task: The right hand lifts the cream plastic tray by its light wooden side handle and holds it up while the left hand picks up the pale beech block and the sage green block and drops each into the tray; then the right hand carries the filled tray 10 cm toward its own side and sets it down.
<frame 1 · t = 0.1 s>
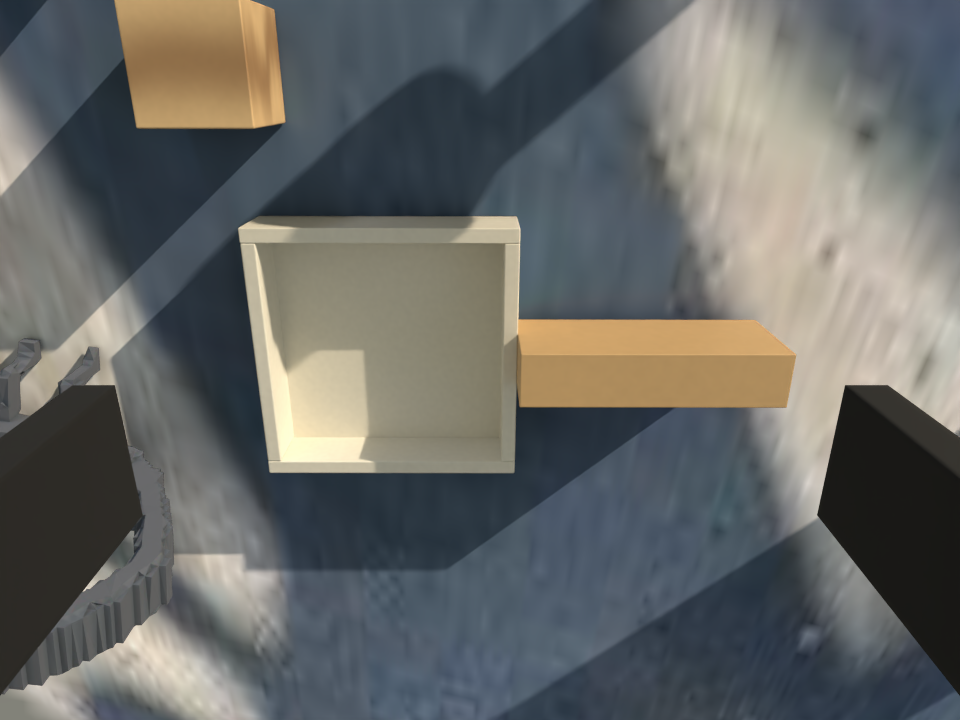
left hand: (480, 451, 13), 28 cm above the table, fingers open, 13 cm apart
beech block: (227, 67, 36), on the table
tray: (393, 337, 41), on the table
toy: (25, 425, 44), on the table
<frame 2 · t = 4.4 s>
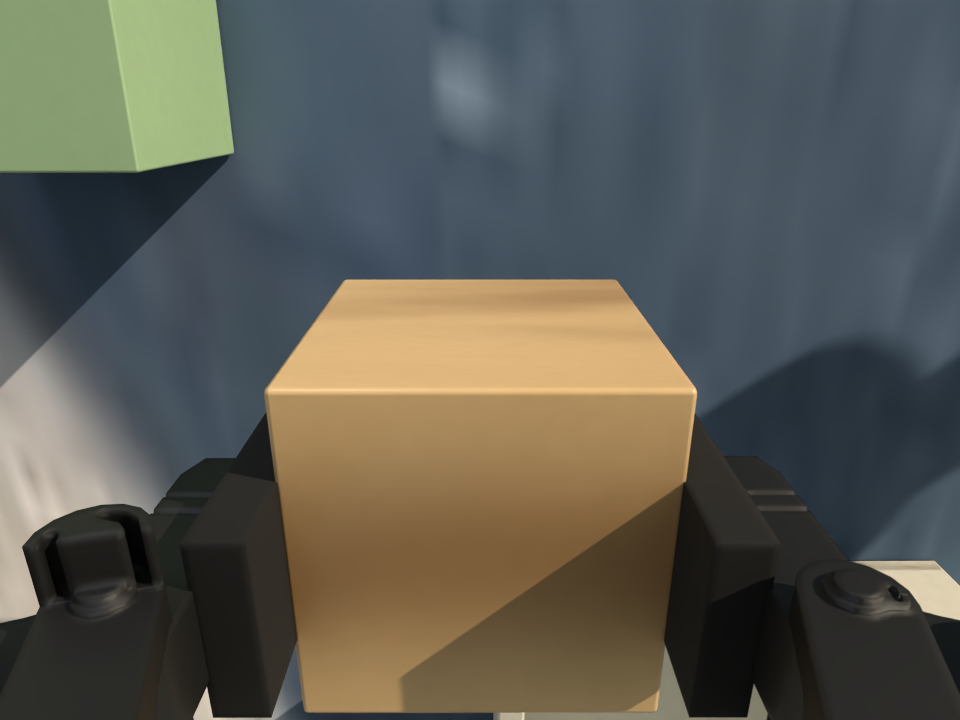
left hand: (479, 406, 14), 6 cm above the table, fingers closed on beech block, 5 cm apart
green block: (110, 39, 17), on the table
beech block: (480, 403, 15), point 5 cm above the table, touching left hand
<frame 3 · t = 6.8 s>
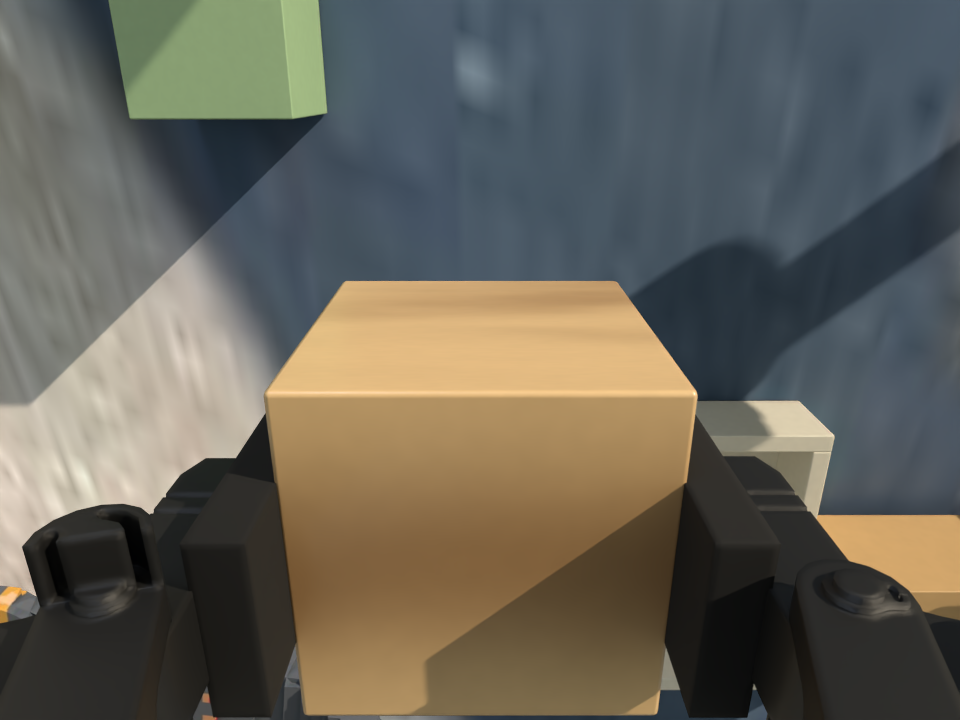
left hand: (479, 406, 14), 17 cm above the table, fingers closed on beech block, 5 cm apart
green block: (251, 39, 27), on the table
beech block: (480, 404, 15), point 16 cm above the table, touching left hand
tray: (634, 528, 35), on the table, touching right hand
toy: (195, 619, 38), on the table
when the left hand's fingers open (13 cm above the table, at t = 10.8 s): beech block drops 5 cm, resting on tray.
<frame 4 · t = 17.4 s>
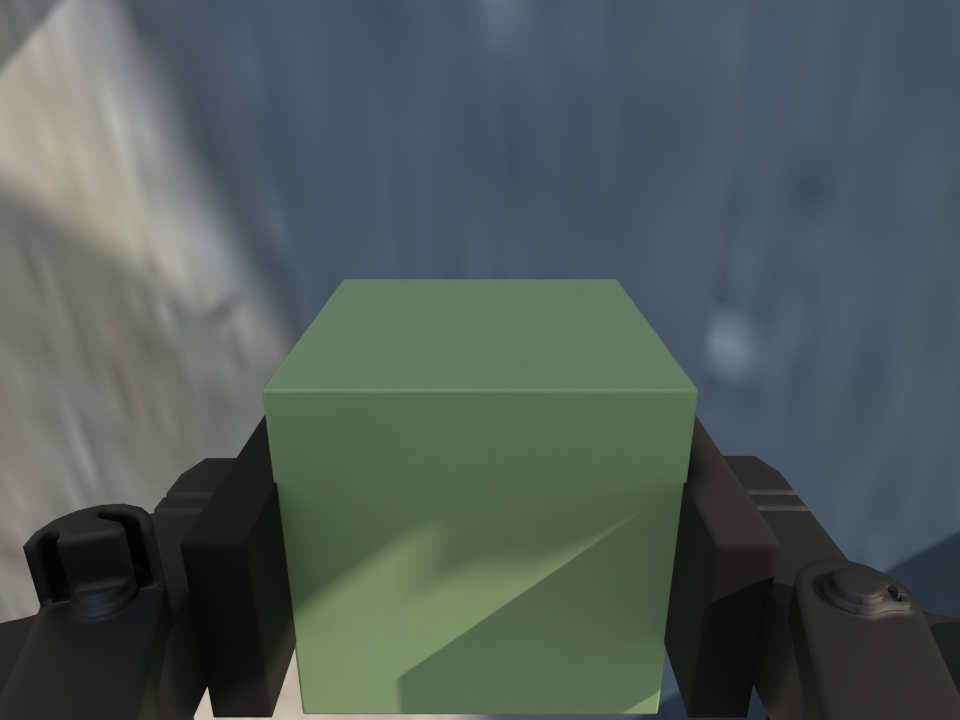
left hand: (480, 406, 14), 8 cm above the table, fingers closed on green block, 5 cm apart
green block: (480, 403, 15), point 8 cm above the table, touching left hand
when the left hand's fingers open (13 cm above the table, at t = 20.7 s): green block drops 12 cm, resting on tray.
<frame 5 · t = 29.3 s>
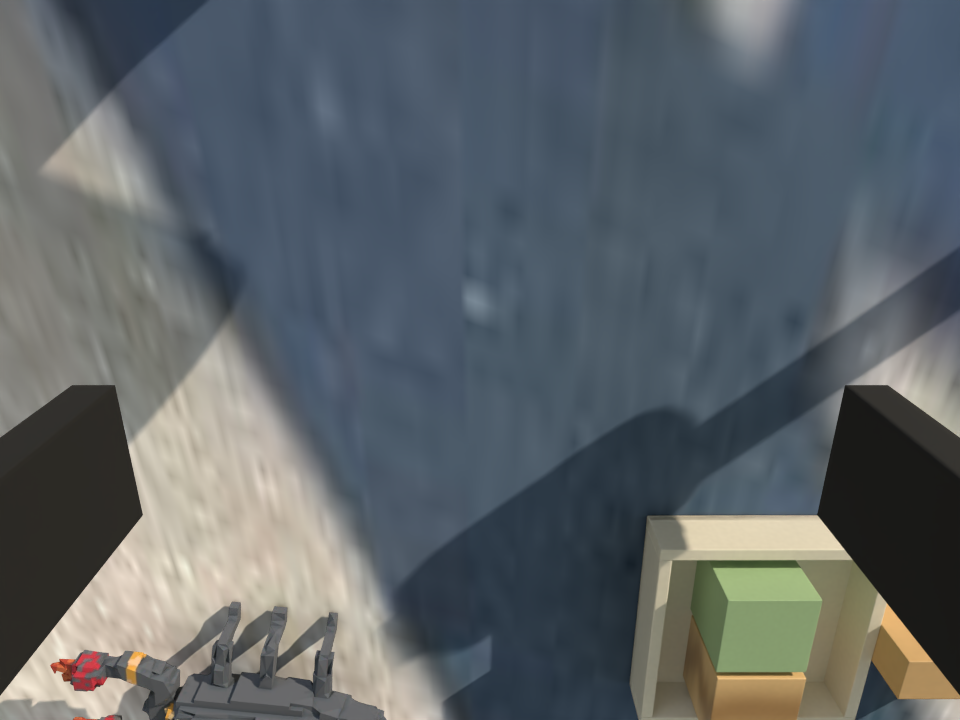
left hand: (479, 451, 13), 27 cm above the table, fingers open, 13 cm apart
green block: (735, 576, 46), point 1 cm above the table, touching tray
beech block: (725, 645, 48), point 1 cm above the table, touching tray
tray: (743, 604, 47), on the table, touching beech block, green block
toy: (263, 670, 50), on the table
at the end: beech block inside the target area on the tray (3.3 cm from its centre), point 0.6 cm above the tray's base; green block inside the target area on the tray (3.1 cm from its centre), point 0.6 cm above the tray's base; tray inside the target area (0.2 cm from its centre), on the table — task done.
